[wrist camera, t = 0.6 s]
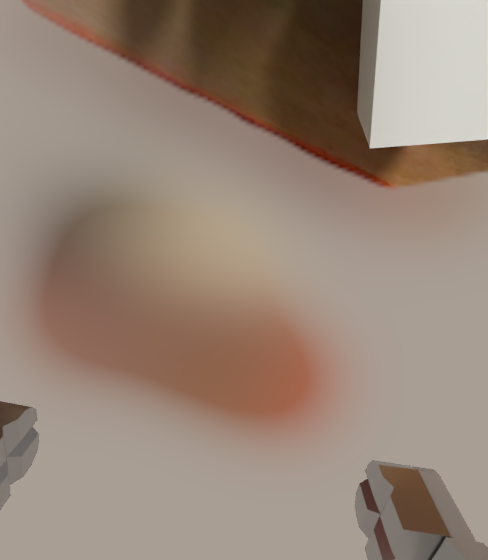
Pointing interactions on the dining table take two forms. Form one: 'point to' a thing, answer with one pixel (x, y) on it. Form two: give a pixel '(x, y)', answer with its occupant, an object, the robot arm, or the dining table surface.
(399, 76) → the key panel
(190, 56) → the dining table surface
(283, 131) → the dining table surface
